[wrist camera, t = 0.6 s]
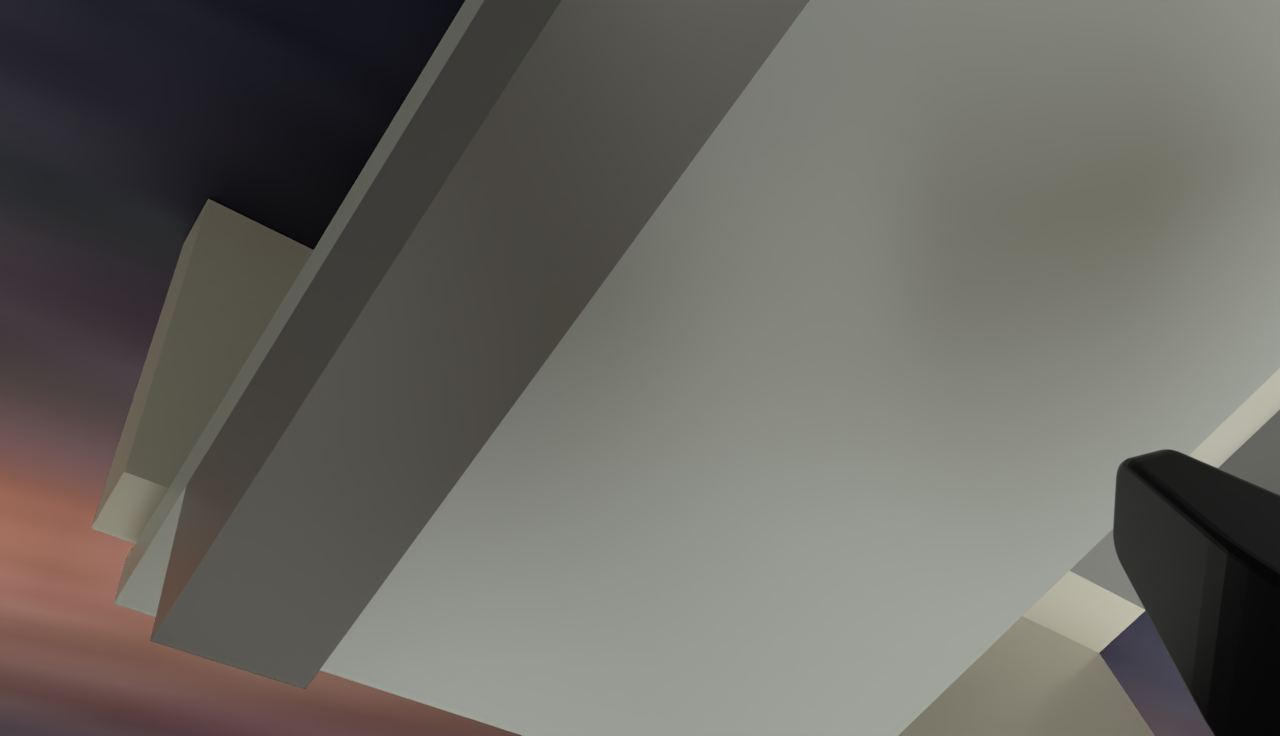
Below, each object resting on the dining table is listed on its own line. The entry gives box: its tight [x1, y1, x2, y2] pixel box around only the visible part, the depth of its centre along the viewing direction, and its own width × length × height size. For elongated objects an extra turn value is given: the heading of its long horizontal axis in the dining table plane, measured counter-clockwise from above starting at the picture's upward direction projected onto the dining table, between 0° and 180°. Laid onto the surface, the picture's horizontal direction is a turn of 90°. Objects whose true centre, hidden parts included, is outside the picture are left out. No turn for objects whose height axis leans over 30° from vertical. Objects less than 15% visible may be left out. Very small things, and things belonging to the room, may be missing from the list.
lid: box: [114, 0, 1280, 736], centre depth 13 cm, size 11×16×3 cm
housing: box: [91, 199, 1280, 736], centre depth 20 cm, size 24×16×8 cm, turn 55°
